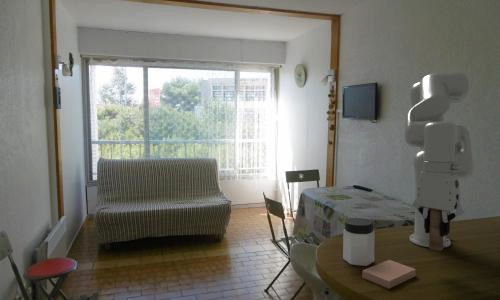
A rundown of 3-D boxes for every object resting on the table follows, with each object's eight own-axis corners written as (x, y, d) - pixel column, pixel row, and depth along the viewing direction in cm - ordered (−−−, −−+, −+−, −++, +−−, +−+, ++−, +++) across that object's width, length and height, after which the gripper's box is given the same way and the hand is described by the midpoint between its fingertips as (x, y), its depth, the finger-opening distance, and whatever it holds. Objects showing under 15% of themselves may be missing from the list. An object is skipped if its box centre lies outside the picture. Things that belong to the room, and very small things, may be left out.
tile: (389, 259, 103) (362, 270, 96) (415, 269, 97) (389, 281, 90) (388, 267, 104) (362, 279, 97) (415, 277, 97) (388, 290, 90)
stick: (432, 245, 102) (433, 203, 101) (445, 248, 99) (446, 205, 98) (426, 248, 99) (427, 205, 99) (439, 251, 97) (440, 207, 96)
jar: (379, 264, 105) (380, 224, 104) (354, 267, 103) (354, 226, 102) (362, 253, 113) (362, 216, 112) (339, 256, 111) (339, 218, 110)
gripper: (477, 169, 93) (475, 238, 95) (415, 164, 106) (414, 225, 108) (465, 171, 89) (463, 244, 90) (402, 166, 102) (400, 229, 103)
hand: (436, 233), depth 99 cm, fingers closed on stick, 3 cm apart
